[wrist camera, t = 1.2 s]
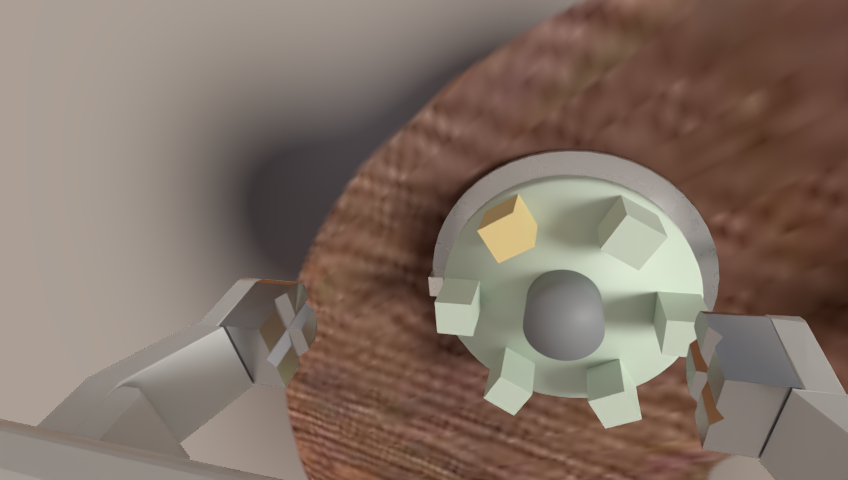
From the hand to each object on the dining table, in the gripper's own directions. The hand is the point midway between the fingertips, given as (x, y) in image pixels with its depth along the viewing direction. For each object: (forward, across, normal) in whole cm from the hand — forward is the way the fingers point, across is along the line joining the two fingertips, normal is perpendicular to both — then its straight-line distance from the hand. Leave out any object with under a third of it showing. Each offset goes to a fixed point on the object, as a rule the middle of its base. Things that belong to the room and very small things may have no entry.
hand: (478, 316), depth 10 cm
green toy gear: (+26, +2, -21) cm, 33 cm away
